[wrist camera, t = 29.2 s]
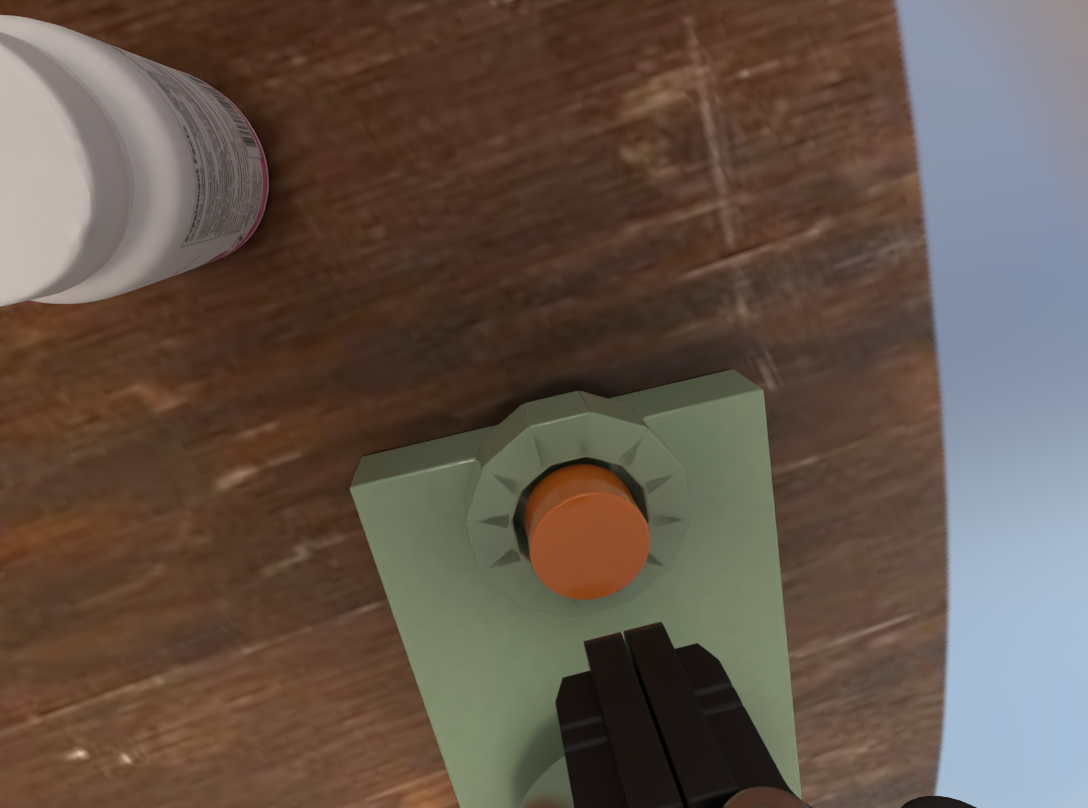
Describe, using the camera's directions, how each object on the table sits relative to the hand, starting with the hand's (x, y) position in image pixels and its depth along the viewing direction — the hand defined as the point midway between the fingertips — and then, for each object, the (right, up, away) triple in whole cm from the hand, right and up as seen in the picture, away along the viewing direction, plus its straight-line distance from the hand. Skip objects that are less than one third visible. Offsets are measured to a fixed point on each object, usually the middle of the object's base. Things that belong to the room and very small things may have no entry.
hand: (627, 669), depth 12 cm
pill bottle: (-11, +11, +5) cm, 16 cm away
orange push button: (-1, +2, +5) cm, 6 cm away
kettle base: (0, -4, +11) cm, 12 cm away
